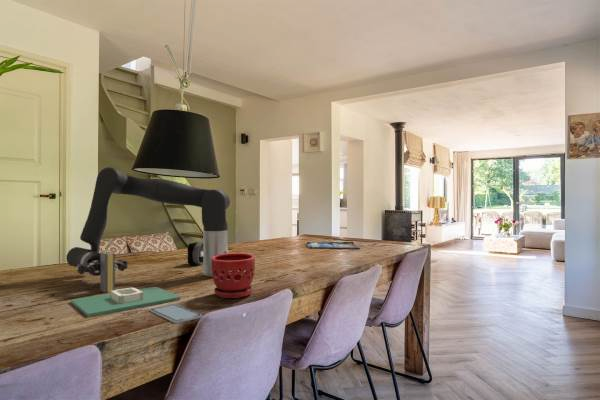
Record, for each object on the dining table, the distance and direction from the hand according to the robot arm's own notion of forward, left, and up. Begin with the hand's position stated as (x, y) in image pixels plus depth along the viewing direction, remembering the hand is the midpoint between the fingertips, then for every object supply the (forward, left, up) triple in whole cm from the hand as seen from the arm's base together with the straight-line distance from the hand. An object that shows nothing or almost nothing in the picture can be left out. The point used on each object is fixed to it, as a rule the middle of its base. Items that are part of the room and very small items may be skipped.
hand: (109, 269), depth 117 cm
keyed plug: (+1, -1, -7) cm, 7 cm away
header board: (-9, +13, -7) cm, 17 cm away
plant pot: (-39, +10, -7) cm, 41 cm away
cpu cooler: (-21, -48, -7) cm, 53 cm away
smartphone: (-25, +27, -8) cm, 37 cm away
